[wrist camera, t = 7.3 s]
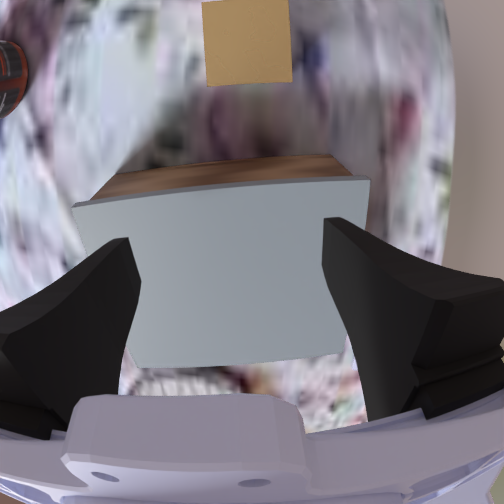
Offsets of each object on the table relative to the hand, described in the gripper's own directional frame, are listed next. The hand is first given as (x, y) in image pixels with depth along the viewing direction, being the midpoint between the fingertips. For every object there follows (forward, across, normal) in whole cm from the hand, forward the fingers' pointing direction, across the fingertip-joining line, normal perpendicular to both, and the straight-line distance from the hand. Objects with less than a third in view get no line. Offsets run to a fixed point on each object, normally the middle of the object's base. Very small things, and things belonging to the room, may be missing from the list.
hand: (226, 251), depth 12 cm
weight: (+10, -2, -8) cm, 12 cm away
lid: (+4, +1, +11) cm, 12 cm away
